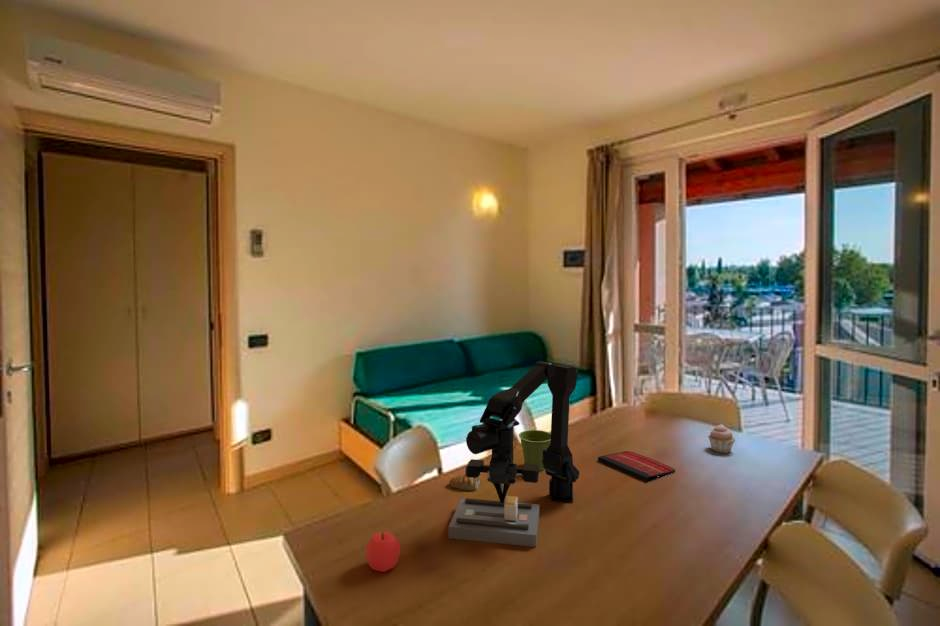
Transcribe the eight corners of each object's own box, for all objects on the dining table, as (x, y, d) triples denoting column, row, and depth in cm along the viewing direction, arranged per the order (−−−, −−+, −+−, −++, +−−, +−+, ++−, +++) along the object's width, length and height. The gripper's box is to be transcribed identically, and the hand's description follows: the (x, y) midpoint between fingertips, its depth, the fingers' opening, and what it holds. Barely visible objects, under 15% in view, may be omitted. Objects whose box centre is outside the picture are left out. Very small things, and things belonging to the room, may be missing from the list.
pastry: (447, 490, 151) (447, 478, 151) (451, 481, 158) (451, 469, 157) (477, 492, 150) (477, 479, 149) (480, 482, 156) (480, 471, 156)
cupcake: (736, 448, 183) (737, 422, 182) (734, 456, 175) (735, 429, 175) (708, 444, 188) (709, 418, 187) (705, 451, 180) (706, 425, 180)
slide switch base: (539, 514, 135) (539, 500, 134) (535, 546, 119) (535, 530, 119) (461, 508, 139) (461, 493, 139) (448, 538, 123) (448, 522, 123)
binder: (646, 477, 155) (597, 456, 172) (646, 484, 155) (597, 462, 172) (678, 468, 163) (628, 449, 181) (677, 474, 163) (627, 455, 181)
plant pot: (514, 471, 164) (514, 438, 163) (523, 458, 175) (523, 428, 174) (548, 476, 160) (549, 443, 159) (556, 463, 171) (556, 432, 170)
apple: (384, 581, 107) (383, 546, 106) (358, 569, 111) (357, 535, 110) (408, 562, 113) (407, 529, 113) (382, 552, 117) (381, 520, 117)
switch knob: (517, 511, 130) (517, 495, 130) (515, 520, 125) (515, 504, 125) (506, 510, 131) (506, 494, 130) (504, 519, 126) (504, 503, 125)
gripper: (460, 453, 121) (461, 513, 122) (536, 458, 117) (536, 520, 118) (469, 438, 132) (469, 493, 133) (539, 442, 128) (538, 499, 129)
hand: (502, 502), depth 128 cm, fingers closed
